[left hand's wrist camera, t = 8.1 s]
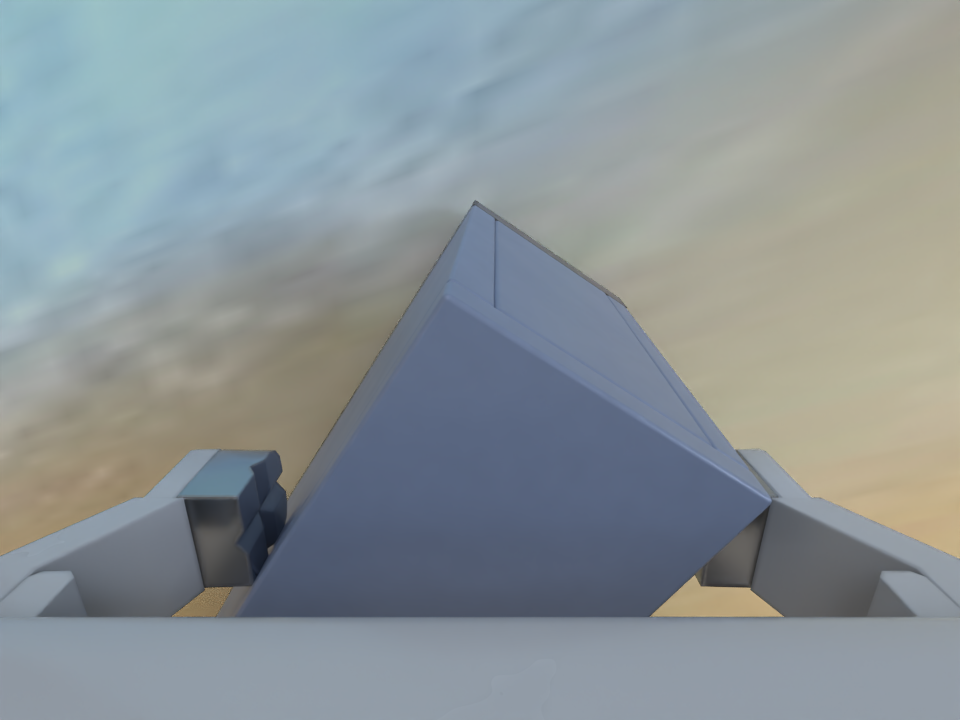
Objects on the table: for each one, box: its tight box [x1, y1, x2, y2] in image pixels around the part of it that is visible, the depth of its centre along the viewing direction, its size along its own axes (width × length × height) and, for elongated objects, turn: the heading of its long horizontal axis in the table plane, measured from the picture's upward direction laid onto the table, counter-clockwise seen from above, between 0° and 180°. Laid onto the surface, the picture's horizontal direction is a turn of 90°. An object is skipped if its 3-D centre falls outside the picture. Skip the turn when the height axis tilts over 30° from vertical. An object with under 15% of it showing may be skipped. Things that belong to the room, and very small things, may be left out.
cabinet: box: [216, 200, 772, 617], centre depth 14 cm, size 17×5×10 cm, turn 147°
